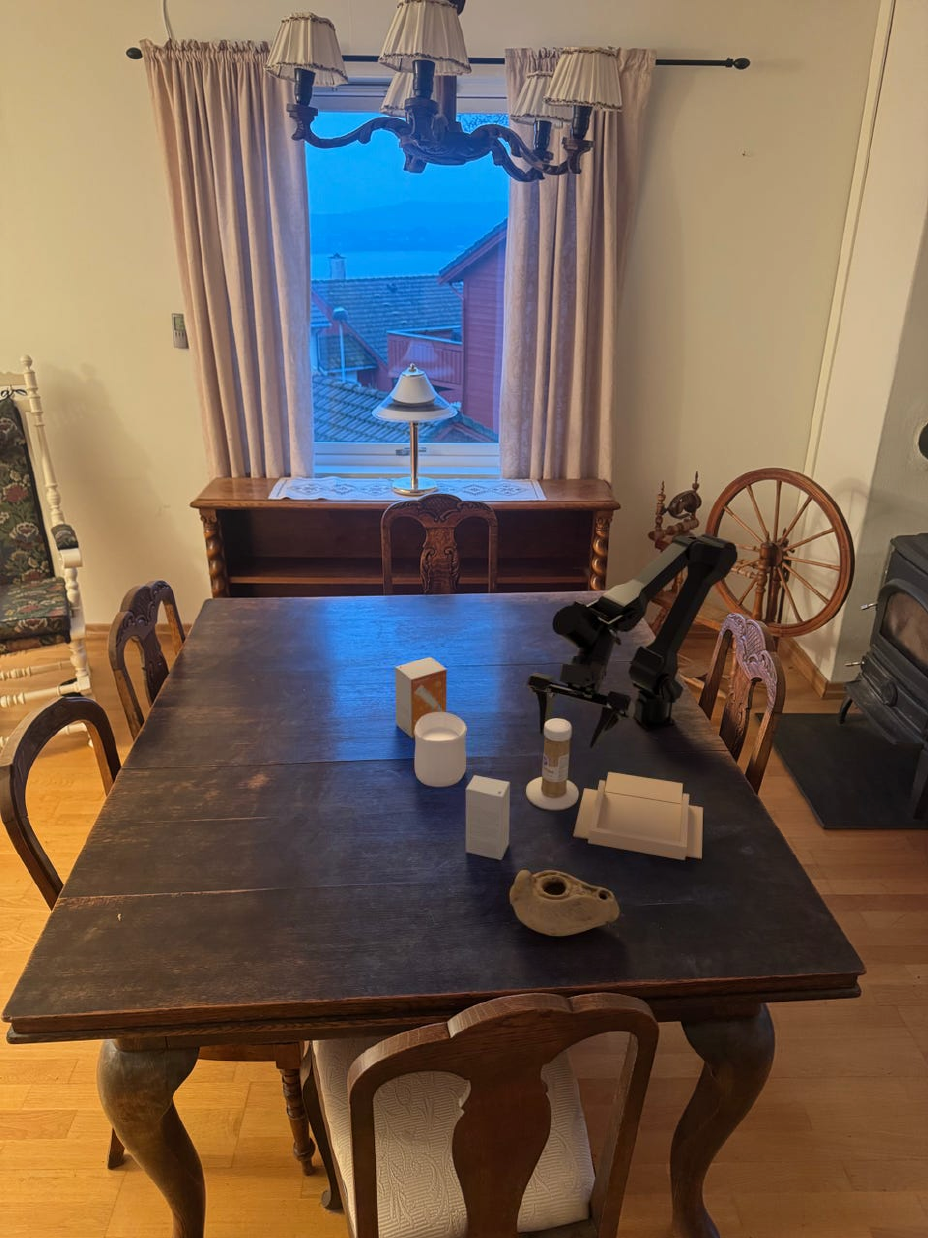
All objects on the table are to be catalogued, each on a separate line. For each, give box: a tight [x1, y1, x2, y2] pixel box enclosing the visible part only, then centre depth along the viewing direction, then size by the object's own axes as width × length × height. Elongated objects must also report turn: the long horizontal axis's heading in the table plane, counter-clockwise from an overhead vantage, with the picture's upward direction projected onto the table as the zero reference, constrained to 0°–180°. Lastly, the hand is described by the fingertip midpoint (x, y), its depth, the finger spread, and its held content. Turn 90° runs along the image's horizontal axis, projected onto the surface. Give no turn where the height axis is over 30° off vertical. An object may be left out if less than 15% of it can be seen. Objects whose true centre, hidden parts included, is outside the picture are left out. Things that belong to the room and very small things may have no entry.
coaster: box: [525, 776, 580, 811], centre depth 146 cm, size 9×9×1 cm
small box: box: [394, 656, 448, 739], centre depth 163 cm, size 8×6×13 cm
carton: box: [573, 771, 704, 861], centre depth 141 cm, size 20×20×2 cm
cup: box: [414, 711, 468, 788], centre depth 150 cm, size 10×10×10 cm
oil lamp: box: [509, 869, 620, 937], centre depth 118 cm, size 11×15×8 cm
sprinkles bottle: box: [541, 717, 573, 798], centre depth 143 cm, size 5×5×14 cm
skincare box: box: [465, 774, 511, 861], centre depth 131 cm, size 6×4×12 cm
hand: (566, 741), depth 146 cm, fingers open, 9 cm apart
